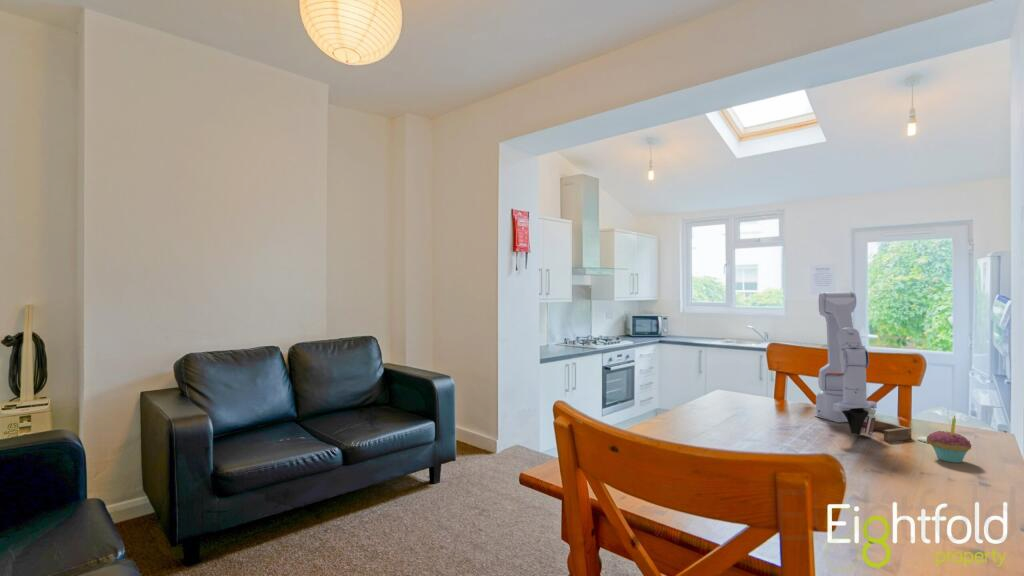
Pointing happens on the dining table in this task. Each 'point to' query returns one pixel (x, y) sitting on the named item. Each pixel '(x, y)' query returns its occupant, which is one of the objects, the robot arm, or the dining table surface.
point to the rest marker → (922, 439)
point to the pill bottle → (868, 423)
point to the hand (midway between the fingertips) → (855, 433)
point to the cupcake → (949, 445)
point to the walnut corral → (892, 431)
